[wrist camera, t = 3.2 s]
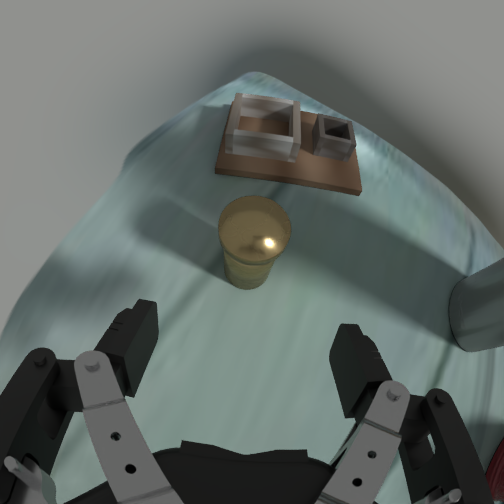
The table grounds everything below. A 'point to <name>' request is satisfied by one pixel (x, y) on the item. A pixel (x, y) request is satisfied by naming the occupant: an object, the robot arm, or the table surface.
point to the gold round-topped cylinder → (252, 239)
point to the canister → (497, 474)
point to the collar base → (288, 145)
